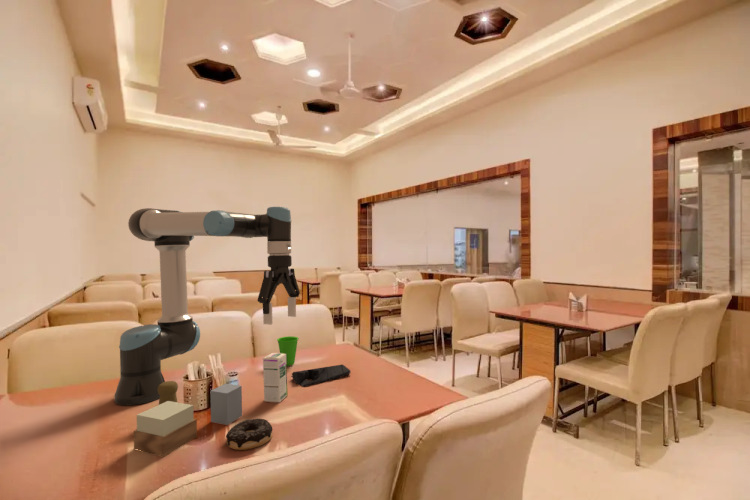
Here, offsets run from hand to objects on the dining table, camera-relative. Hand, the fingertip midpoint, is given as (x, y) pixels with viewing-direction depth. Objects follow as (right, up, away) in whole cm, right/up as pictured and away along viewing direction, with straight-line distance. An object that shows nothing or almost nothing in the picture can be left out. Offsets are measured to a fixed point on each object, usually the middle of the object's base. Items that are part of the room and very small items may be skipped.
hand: (280, 320), depth 121 cm
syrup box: (-2, -27, +2) cm, 27 cm away
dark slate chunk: (+10, -27, +24) cm, 37 cm away
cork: (-30, -27, -12) cm, 42 cm away
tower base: (-23, -27, -25) cm, 44 cm away
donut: (-2, -27, -24) cm, 36 cm away
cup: (-7, -27, +39) cm, 48 cm away
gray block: (-13, -27, -12) cm, 32 cm away
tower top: (-23, -22, -25) cm, 41 cm away
